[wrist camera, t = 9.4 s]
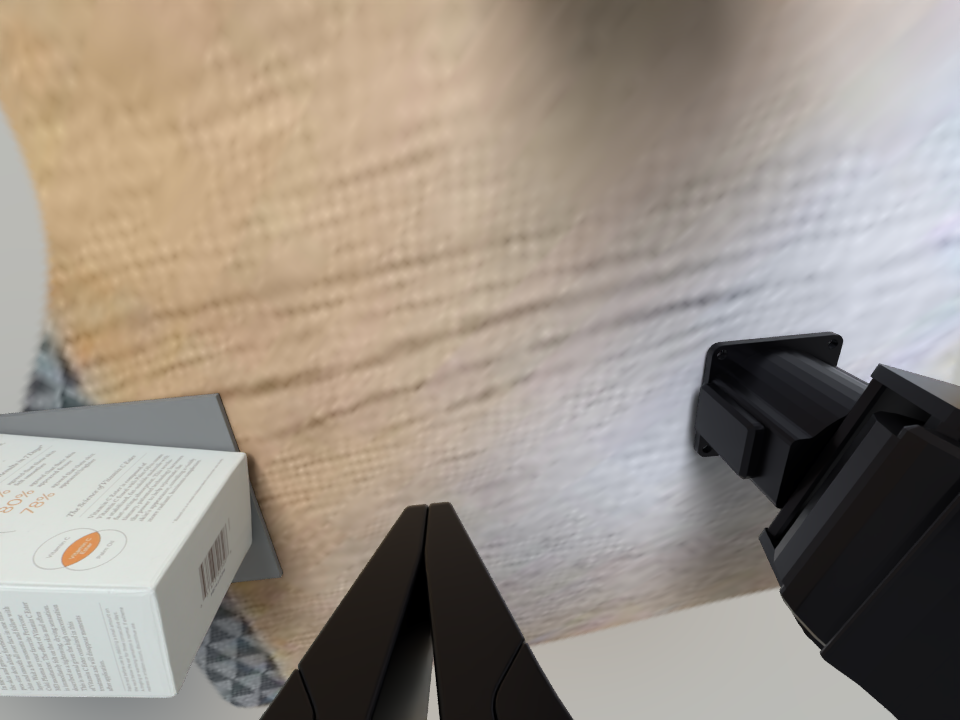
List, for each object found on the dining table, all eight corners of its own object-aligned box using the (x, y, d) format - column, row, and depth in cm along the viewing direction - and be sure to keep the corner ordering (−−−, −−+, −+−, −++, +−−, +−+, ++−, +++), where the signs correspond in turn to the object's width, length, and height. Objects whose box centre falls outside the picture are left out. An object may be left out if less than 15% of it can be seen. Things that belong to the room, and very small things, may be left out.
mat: (218, 393, 21) (215, 396, 21) (282, 573, 26) (280, 577, 26) (-85, 422, 21) (-92, 426, 21) (38, 599, 26) (34, 604, 26)
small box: (256, 543, 25) (-6, 528, 23) (249, 449, 22) (-45, 424, 21) (174, 706, 18) (-215, 698, 16) (151, 593, 15) (-315, 571, 13)
